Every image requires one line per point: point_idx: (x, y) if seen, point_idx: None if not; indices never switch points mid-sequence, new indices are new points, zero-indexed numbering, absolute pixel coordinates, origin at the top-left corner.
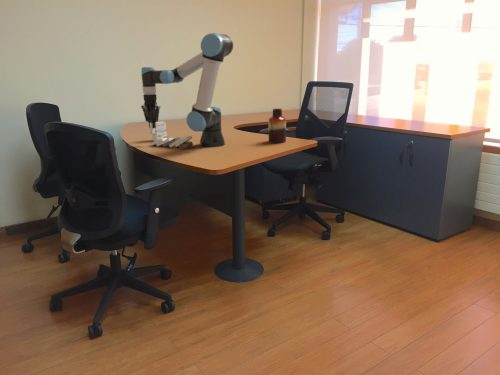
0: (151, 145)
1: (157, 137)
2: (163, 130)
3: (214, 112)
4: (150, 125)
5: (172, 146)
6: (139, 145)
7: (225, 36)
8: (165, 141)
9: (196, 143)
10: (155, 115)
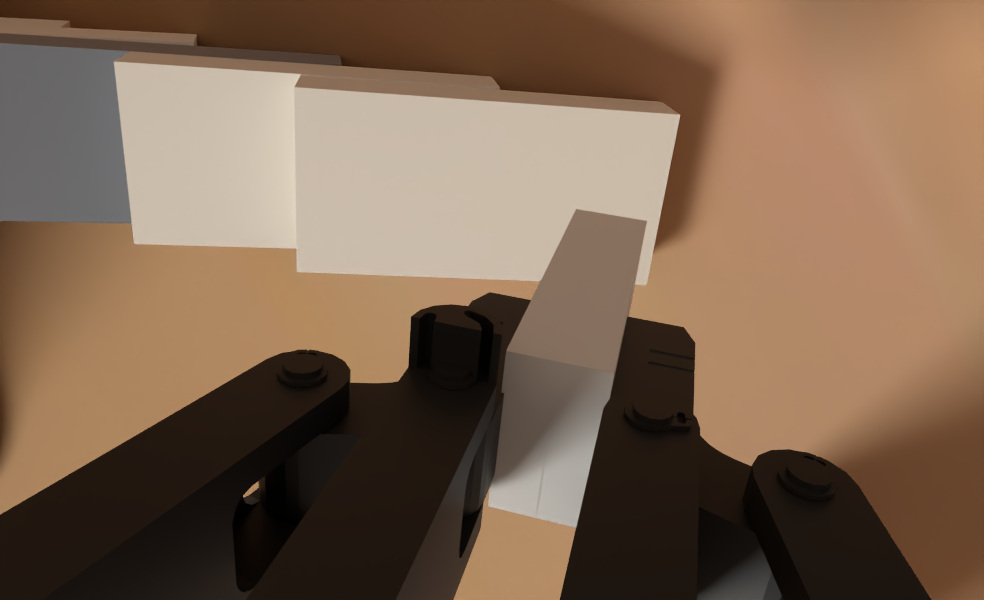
0: (639, 100)
1: None
2: None
3: None
4: (593, 315)
5: None
6: (962, 82)
7: None
8: (232, 63)
9: (73, 434)
10: (59, 529)
